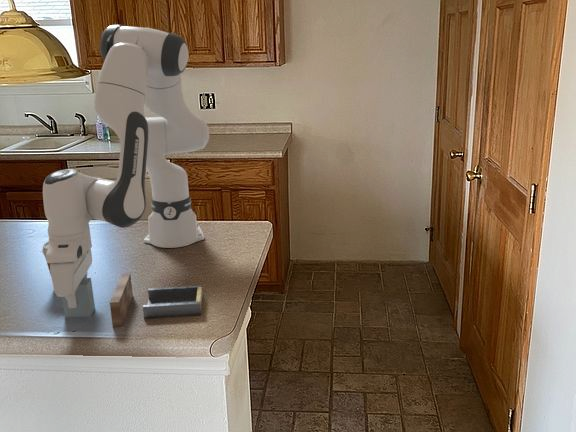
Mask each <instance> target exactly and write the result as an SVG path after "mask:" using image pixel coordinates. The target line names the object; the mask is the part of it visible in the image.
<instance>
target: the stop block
mask: <svg viewBox="0 0 576 432" xmlns="http://www.w3.org/2000/svg"><path fill="white" fill-rule="evenodd" d="M92 282H93V281H92V278H91V277H87V278H83V280H82V281H81V283H80V285H79V286H78V288H77V290H76V293H75V296H76V298H77V300H78V305H77V307H76V308H69V307H68V301H67V300H66V298H65V297H61V301H62V309H63V315H64V318H65V319H66V318H68V319H70V318H85V317H92V316H93V313H94V312H95V310H96V305H95V298H94V290H93V284H92Z"/></svg>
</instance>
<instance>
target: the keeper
mask: <svg viewBox="0 0 576 432" xmlns="http://www.w3.org/2000/svg"><path fill="white" fill-rule="evenodd" d="M147 295H148V296H147V297H148V301H147V304H143V305H142V310H143V311H142V312H143V319H148V320H149V319H162V318H163V319H164V318H178V317H192V316H193V317H195V316H201V315H202V308H203V297H204V296H203V285H188V286H187V285H186V286H185V285H183V286H169V287H168V286H167V287H156V288H155V287H152V288H151V287H150V288H149V287H148V289H147Z"/></svg>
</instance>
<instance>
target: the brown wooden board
mask: <svg viewBox="0 0 576 432" xmlns="http://www.w3.org/2000/svg"><path fill="white" fill-rule="evenodd" d="M133 296H134V293H133V285H132V276H131V273H121V276H120V277H119V281H118V283H117V285H116V287H115V289H114V292H113V293H112V297H111V299H110V301H109V309H110V317H111V323H112V324H111V325H112V328H117V327H118V328H119V327H123V324H124V321H125V318H126V315H127V313H128V310H129V308H130V304H131V302H132V299H133Z"/></svg>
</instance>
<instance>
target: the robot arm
mask: <svg viewBox="0 0 576 432" xmlns="http://www.w3.org/2000/svg"><path fill="white" fill-rule="evenodd" d="M99 39H100V40H99V53H100V56H101V58H102V60H103V65H102V67H101V70H100V74H99V77H98V80H97V85H96V88H95V89H96V90H95V94H94V110H95V113H96V114H97V116H98V118H99V119H100V120H101V121H102V122H103V124H105V125H106V126H107V127H109V128H110V129H111V130H112V131H114V133H115V134H116V135H117V137H118V139H119V143H120V151H119V159H118V162H119V163H118V169H117V170H118V171H117V172H118V173H117V178H116V179H115V180H111V179H106V178H101V177H98V176H90V175H87V174H84V173H82V172H79V170H77V169H74V168H66V169H60V170H57V171H53V172H52V173H50V174H48V175H47V176H46V177H45V179H44V181H43V185H42V198H43V199H42V200H43V209H44V214H45V215H44V216H45V217H46V219H47V222H48V223H47V224H48V225H47V226H48V227H47V236H48V241H49V246H48V250H47V253H46V258H45V261H46V264H47V263H51V264H50V271H49V273H50V272H51V275H50V277H51V281H52V288H53V289H54V291H53V292H54V294H55V295H56V296H57V297H58V298H62V297H65V298H66V300H67V301H68V307H69V308H76V307H77V305H78V300H77V298H76V296H75V293H76V290H77V288H78V286H79V285H80V283H81V281H82V280H83V278H88V273H89V272H88V270H89V269H90V268H91V266H92V264H93V255H92V247H93V243H92V237H91V229H90V221H92V220H97V221H100V222H105V223H108V224H111V225H113V226H115V227H119V228H120V229H121V228H122V229H125V228H129V227H132V226H133V225H135V224H136V223H137V222H138V221H140V219H142V217H143V215H144V214H145V212H146V207H147V205H146V204H147V198H146V190H145V189H146V185H145V184H146V171H147V174H148V177H149V181H150V186H151V194H152V198H151V203H150V205H151V210H152V212H151V214H150V215H149V216H148V218H147V220H148V221H147V222H148V223H147V224H148V233H147V235H146V236H145V237H144V239H143V242H144V243H146V244H150V245H153V246H154V247H157V248H164V249H166V248H167V249H169V248H170V249H174V248H182V247H187V246H189V245H192V244H194V243H197V242H200V241H203V240H205V235H204V233H203V230H202V229H201V227H200V225H199V223H198V221H197V214H196V213H195V211H193V209H192V199H191V196H190V194H189V193H190V191H189V180H188V173H187V172H186V170H185V168H183V167H181V166H180V165H178V164H175V163H173V162H170V161H169V160H168V159H167V158H166V157H165V155H168V154H182V153H183V154H184V153H192V152H196V151H199V150H203V149H204V148H205V147H206V146H207V145H208V142H209V139H210V128H209V126H208V124H207V122H206V121H205V120H204V119H203V118H202V117H200V116H198V115H197V114H196V113H194V112H192V111H191V109H190V108H189V107H188V105H187V104H186V102H185V99H184V95H183V87H182V75H181V74H182V73H183V72H184V71H185V70H186V68H187V65H188V62H189V46H188V43H187V42H186V40H185V39H184V38H183V36H182V35H179V34H177V33H174V32H166V31H165V30H164V31H163V30H161V29H160V30H159V29H155V28H151V27H141V26H130V25H128V26H127V25H124V24H112V25H111V24H110V25H109V26H107V27H106V28H105V29H104V30H103V31H102V33H101V37H100V38H99ZM145 107H146V108H147V109H148V111H150V112H151V113H152V114H155V115H158V116H151V117H150V116H149V117H145Z"/></svg>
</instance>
